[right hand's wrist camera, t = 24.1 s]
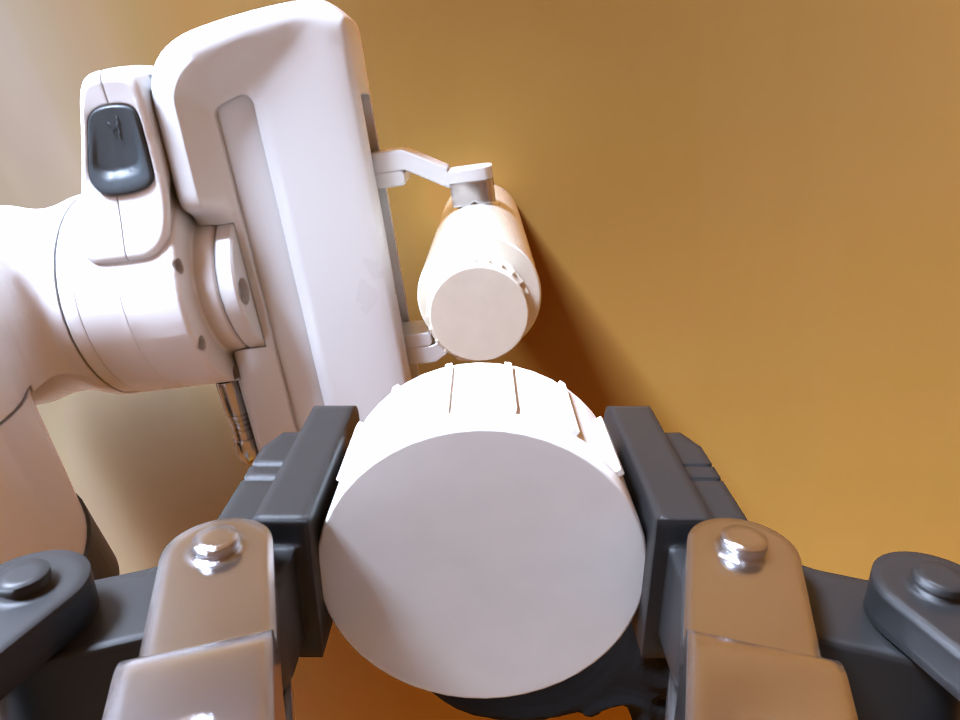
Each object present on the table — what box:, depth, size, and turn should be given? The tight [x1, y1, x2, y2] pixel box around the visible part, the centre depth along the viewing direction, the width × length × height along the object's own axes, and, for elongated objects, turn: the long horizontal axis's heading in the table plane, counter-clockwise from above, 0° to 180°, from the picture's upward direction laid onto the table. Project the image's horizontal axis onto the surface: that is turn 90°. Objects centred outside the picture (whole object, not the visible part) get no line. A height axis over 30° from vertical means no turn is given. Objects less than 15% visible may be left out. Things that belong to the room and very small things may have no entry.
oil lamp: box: [432, 622, 670, 720], centre depth 42 cm, size 15×20×5 cm
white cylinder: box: [418, 184, 541, 363], centre depth 28 cm, size 4×4×16 cm
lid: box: [319, 362, 646, 699], centre depth 10 cm, size 4×4×2 cm
